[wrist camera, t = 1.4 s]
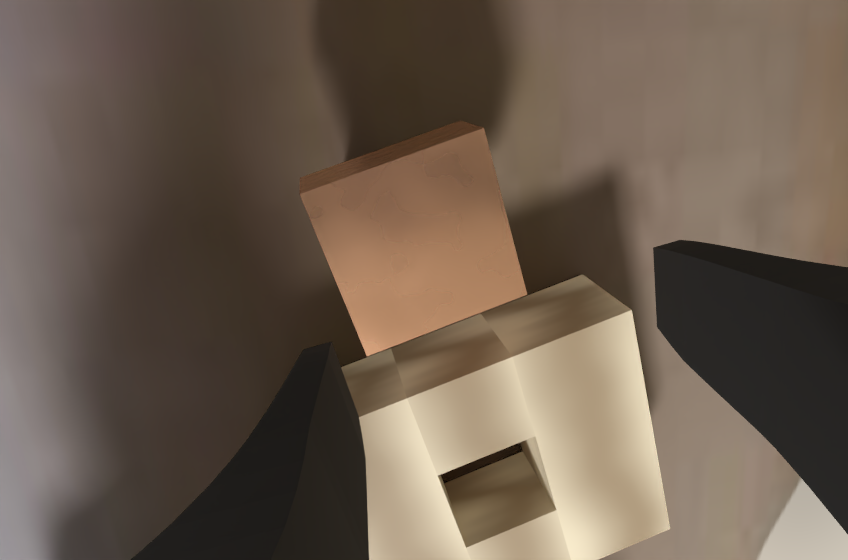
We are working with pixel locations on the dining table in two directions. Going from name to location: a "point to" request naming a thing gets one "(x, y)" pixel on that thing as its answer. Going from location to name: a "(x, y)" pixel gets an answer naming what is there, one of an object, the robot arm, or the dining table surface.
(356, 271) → the orange brown block
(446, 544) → the holder
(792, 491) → the dining table surface
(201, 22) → the dining table surface
